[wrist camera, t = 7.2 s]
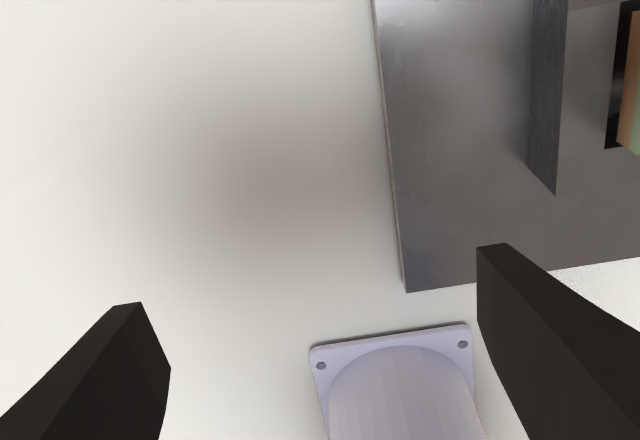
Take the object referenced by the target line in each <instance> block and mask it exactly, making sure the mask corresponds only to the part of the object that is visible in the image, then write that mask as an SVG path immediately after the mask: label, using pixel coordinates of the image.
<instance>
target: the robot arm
mask: <svg viewBox="0 0 640 440" xmlns="http://www.w3.org/2000/svg"><path fill="white" fill-rule="evenodd" d="M476 275H477V322H478V325H479V328H480V331H481V334H482V337H483V339H484V342H485V345H486V348H487V351H488V354H489V356H490V359H491V362H492V364H493V366H494V368H495V371H496V373H497V375H498V377H499V379H500V381H501V383H502V385H503V387H504V389H505V391H506V393H507V395H508V397H509V399H510V401H511V403H512V405H513V407H514V409H515V411H516V413H517V415H518V417H519V419H520V421H521V423H522V425H523V427H524V429H525V431H526V433H527V435H528V437H529V439H530V440H640V332H639V331H637V330H635V329H634V328H632V327H630V326H629V325H627V324H625V323H624V322H622V321H620V320H619V319H617V318H615V317H614V316H612V315H610V314H609V313H607V312H605V311H604V310H602V309H601V308H599V307H598V306H596V305H594V304H593V303H591V302H590V301H588V300H587V299H585V298H584V297H582V296H581V295H579V294H578V293H576V292H575V291H573V290H572V289H570V288H569V287H567V286H566V285H564V284H563V283H561V282H560V281H559V280H557V279H556V278H554V277H553V276H551V275H550V274H549V273H547V272H546V271H544V270H543V269H542V268H540V267H539V266H538V265H536V264H535V263H533V262H532V261H531V260H529V259H528V258H527V257H525V256H524V255H523V254H521V253H520V252H518V251H517V250H516V249H514V248H513V247H512V246H510V245H509V244H507V243H506V242H505V243H499V244H492V245H486V246H480V247H476ZM460 341H464V342H462V343H459V342H460ZM309 360H310V364H311V368H312V372H313V376H314V380H315V384H316V388H317V392H318V396H319V400H320V404H321V408H322V413H323V417H324V421H325V425H326V429H327V433H328V437H329V440H487V437H486V434H485V431H484V429H483V426H482V423H481V421H480V418H479V415H478V412H477V410H476V407H475V404H474V373H473V338H472V332H471V329H470V327H468V326H467V325H464V324H459V325H452V326H446V327H439V328H433V329H426V330H420V331H413V332H407V333H400V334H393V335H387V336H380V337H374V338H367V339H361V340H354V341H347V342H341V343H334V344H328V345H321V346H316V347H313V348H312V349H311V350H310V352H309ZM319 362H324V363H323V364H319ZM170 373H171V367H170V365H169V363H168V360H167V358H166V356H165V354H164V352H163V349H162V347H161V345H160V343H159V341H158V338H157V336H156V334H155V332H154V330H153V327H152V325H151V323H150V321H149V318H148V316H147V314H146V312H145V310H144V307H143V305H142V303H141V302H134V303H128V304H122V305H116V306H113V307H112V308H111V309H110V310H108V311H107V312H106V313H105V314H104V315H103V316H102V317H101V318H100V319H99V320H98V321H97V322H96V323H95V324H94V325H93V326H92V327H91V328H90V329H89V330H88V331H87V332H86V333H85V334H84V335H83V336H82V337H81V338H80V339H79V340H78V342H77V343H76V344H75V345H74V346H73V347H72V348H71V349H70V350H69V351H68V352H67V353H66V354H65V355H64V356H63V357H62V358H61V359H60V360H59V361H58V362H57V363H56V364H55V365H54V366H53V367H52V368H51V369H50V370H49V371H48V372H47V373H46V374H45V375H44V376H43V377H42V378H41V379H40V380H39V381H38V382H37V383H36V384H35V385H34V386H33V387H32V388H31V389H30V390H29V391H28V392H27V393H26V394H25V395H23V396H22V397H21V398H20V399H19V400H18V401H17V402H16V403H15V404H14V405H13V406H12V407H11V408H10V409H9V410H8V411H7V412H6V413H5V414H3V415H2V416H1V417H0V440H158V439H159V435H160V431H161V427H162V424H163V420H164V416H165V411H166V404H167V397H168V390H169V381H170Z"/></svg>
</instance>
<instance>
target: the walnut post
mask: <svg viewBox="0 0 640 440" xmlns="http://www.w3.org/2000/svg"><path fill="white" fill-rule="evenodd" d="M616 141H617V142H618V143H620V144H621V145H623V146H624V147H626V148H627V149H629V150H630V151H632V152H633V153H635V154H636V155H638V156H639V157H640V10H638V11H633V12H632V20H631V28H630V35H629V43H628V51H627V59H626V67H625V75H624V83H623V91H622V99H621V107H620V115H619V123H618V131H617V139H616Z"/></svg>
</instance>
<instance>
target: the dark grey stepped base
mask: <svg viewBox="0 0 640 440" xmlns="http://www.w3.org/2000/svg"><path fill="white" fill-rule="evenodd" d="M371 4H372V13H373V22H374V31H375V40H376V49H377V58H378V67H379V76H380V85H381V94H382V103H383V112H384V121H385V130H386V139H387V148H388V157H389V166H390V175H391V184H392V193H393V201H394V210H395V219H396V228H397V237H398V246H399V255H400V264H401V273H402V281H403V284H404V288H405V291H406V293H411V292H418V291H424V290H431V289H437V288H443V287H450V286H456V285H462V284H469V283H475V282H477V275H476V247H480V246H486V245H492V244H499V243H505V242H506V243H507V244H509V245H510V246H512V247H513V248H514V249H516V250H517V251H518V252H520V253H521V254H523V255H524V256H525V257H527V258H528V259H529V260H531V261H532V262H533V263H535V264H536V265H538V266H539V267H540V268H542V269H543V270H544V271H552V270H558V269H565V268H571V267H578V266H584V265H590V264H597V263H603V262H610V261H616V260H622V259H629V258H635V257H640V157H639V156H638V155H636V154H635V153H633V152H632V151H630V150H629V149H627V148H626V147H624V146H623V145H621V144H620V143H618V142H617V141H616V139H617V131H618V123H619V115H620V107H621V99H622V91H623V83H624V75H625V67H626V59H627V51H628V43H629V35H630V28H631V20H632V12H633V11H638V10H640V0H371Z"/></svg>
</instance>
